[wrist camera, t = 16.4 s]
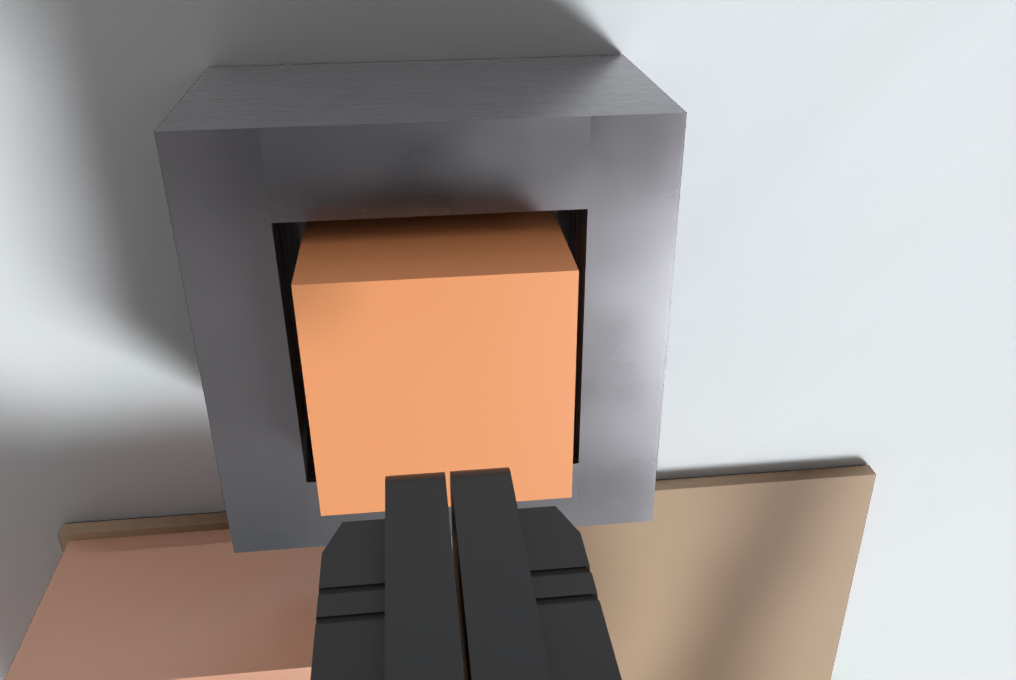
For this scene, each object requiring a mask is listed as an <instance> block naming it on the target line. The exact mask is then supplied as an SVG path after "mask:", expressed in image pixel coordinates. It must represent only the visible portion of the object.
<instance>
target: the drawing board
mask: <svg viewBox="0 0 1016 680" xmlns="http://www.w3.org/2000/svg"><path fill="white" fill-rule="evenodd" d="M875 477H876V474H875V472H874V471H873V470H872V468H871V467H870V466H869V465H865V466H851V467H837V468H824V469H810V470H796V471H783V472H769V473H755V474H741V475H728V476H714V477H700V478H687V479H673V480H659V481H656V482H655V494H654V506H653V518H652V521H644V522H631V523H618V524H605V525H592V526H579V527H576V529H577V530H578V531H579V532H580V533H581V536H582V540H583V543H584V547H585V550H586V554H587V558H588V561H589V565H590V573H591V572H592V575H593V579H594V583H595V586H596V590H597V593H598V594H597V595H598V600H600V604H601V607H602V611H603V615H604V618H605V622H606V625H607V629H608V632H609V636H610V639H611V643H612V647H613V650H614V654H615V657H616V661H617V664H618V668H619V672H620V675H621V679H622V680H831V675H832V671H833V666H834V662H835V657H836V653H837V648H838V644H839V639H840V635H841V630H842V626H843V621H844V617H845V612H846V608H847V603H848V599H849V594H850V590H851V585H852V581H853V576H854V572H855V567H856V563H857V558H858V554H859V549H860V545H861V540H862V536H863V531H864V527H865V522H866V518H867V513H868V509H869V504H870V500H871V495H872V491H873V486H874V482H875ZM223 529H230V528H229V523H228V518H227V512H221V513H207V514H193V515H180V516H166V517H152V518H139V519H125V520H111V521H98V522H84V523H70V524H63V526H62V528H61V530H60V532H59V534H58V537H59V540H60V543H61V547H62V550H63V552H64V550H65V548H66V546H67V544H68V542H69V541H75V540H89V539H102V538H115V537H129V536H142V535H156V534H169V533H182V532H196V531H209V530H223ZM451 541H452V536H451ZM452 552H453V551H452Z"/></svg>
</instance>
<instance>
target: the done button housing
mask: <svg viewBox="0 0 1016 680" xmlns="http://www.w3.org/2000/svg"><path fill="white" fill-rule="evenodd" d="M686 115H687V112H685V111H684V110H683V109H682V108H681V107H680V106H679V105H678V104H677V103H676V102H674V101H673V100H672V99H671V98H670V97H669V96H668V95H667V94H666V93H665V92H663V91H662V90H661V89H660V88H659V87H658V86H657V85H656V84H655V83H654V82H653V81H651V80H650V79H649V78H648V77H647V76H646V75H645V74H644V73H643V72H642V71H640V70H639V69H638V68H637V67H636V66H635V65H634V64H633V63H632V62H631V61H630V60H628V59H627V58H626V57H625V56H624V55H600V56H566V57H532V58H498V59H464V60H430V61H396V62H362V63H328V64H294V65H260V66H226V67H208V68H207V69H206V70H205V71H204V72H203V74H202V75H201V76H200V77H199V78H198V80H197V81H196V82H195V83H194V85H193V86H192V87H191V88H190V89H189V91H188V92H187V93H186V94H185V95H184V97H183V98H182V99H181V100H180V101H179V103H178V104H177V105H176V106H175V107H174V109H173V110H172V111H171V112H170V113H169V115H168V116H167V117H166V118H165V119H164V121H163V122H162V123H161V124H160V125H159V127H158V128H157V129H156V130H155V131H154V133H155V138H156V143H157V148H158V154H159V159H160V164H161V169H162V175H163V180H164V185H165V191H166V196H167V201H168V206H169V212H170V217H171V222H172V227H173V233H174V238H175V243H176V249H177V254H178V259H179V264H180V270H181V275H182V280H183V286H184V291H185V296H186V301H187V307H188V312H189V317H190V322H191V328H192V333H193V338H194V344H195V349H196V354H197V359H198V365H199V370H200V375H201V380H202V386H203V391H204V396H205V402H206V407H207V412H208V417H209V423H210V428H211V433H212V439H213V444H214V449H215V454H216V460H217V465H218V470H219V475H220V481H221V486H222V491H223V497H224V502H225V507H226V512H227V518H228V523H229V528H230V533H231V539H232V544H233V549H234V553H241V552H254V551H267V550H280V549H293V548H306V547H319V546H327V545H328V543H329V542H330V540H331V539H332V537H333V536H334V534H335V533H336V531H337V530H338V528H339V527H340V525H341V524H342V522H349V521H363V520H376V519H385V511H382V512H369V513H355V514H342V515H328V516H321V512H320V504H319V497H318V489H317V481H316V473H315V466H314V458H313V450H312V442H311V435H310V427H309V419H308V411H307V404H306V396H305V388H304V380H303V373H302V365H301V357H300V349H299V342H298V334H297V326H296V318H295V311H294V303H293V295H292V287H291V284H292V280H293V275H294V271H295V267H296V262H297V258H298V254H299V249H300V245H301V241H302V236H303V232H304V228H305V224H306V222H307V221H330V220H352V219H374V218H396V217H419V216H441V215H463V214H485V213H508V212H530V211H552V210H553V212H554V215H555V217H556V219H557V221H558V224H559V226H560V228H561V231H562V233H563V235H564V238H565V240H566V242H567V244H568V247H569V249H570V251H571V254H572V256H573V258H574V260H575V263H576V265H577V267H578V270H579V283H578V315H577V346H576V377H575V409H574V440H573V472H572V497H571V498H558V499H544V500H531V501H517V507H518V509H520V508H534V507H547V506H556V507H557V508H558V509H559V510H560V511H561V512H562V513H563V515H564V516H565V517H566V518H567V519H568V520H569V521H570V522H571V523H572V524H573V525H574V526H575V527H579V526H592V525H605V524H618V523H631V522H644V521H652V518H653V506H654V494H655V482H656V470H657V458H658V447H659V435H660V423H661V411H662V399H663V387H664V375H665V364H666V352H667V340H668V328H669V316H670V304H671V292H672V281H673V269H674V257H675V245H676V233H677V221H678V209H679V198H680V186H681V174H682V162H683V150H684V138H685V126H686ZM448 509H449V520H450V530H451V536H452V525H451V506H450V507H448Z"/></svg>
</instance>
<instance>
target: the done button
mask: <svg viewBox="0 0 1016 680" xmlns="http://www.w3.org/2000/svg"><path fill="white" fill-rule="evenodd" d="M578 283H579V270H578V267H577V265H576V263H575V260H574V258H573V256H572V254H571V251H570V249H569V247H568V244H567V242H566V240H565V238H564V235H563V233H562V231H561V228H560V226H559V224H558V221H557V219H556V217H555V215H554V212H553V210H552V211H530V212H508V213H485V214H463V215H441V216H419V217H396V218H374V219H352V220H330V221H307V222H306V224H305V228H304V232H303V236H302V241H301V245H300V249H299V254H298V258H297V262H296V267H295V271H294V275H293V280H292V284H291V287H292V295H293V303H294V311H295V318H296V326H297V334H298V342H299V349H300V357H301V365H302V373H303V380H304V388H305V396H306V404H307V411H308V419H309V427H310V435H311V442H312V450H313V458H314V466H315V473H316V481H317V489H318V497H319V504H320V512H321V516H328V515H342V514H355V513H369V512H382V511H385V476H393V475H407V474H421V473H436V472H445V477H446V487H447V498H448V507H450V506H451V499H450V471H461V470H475V469H490V468H504V467H509V469H510V472H511V476H512V481H513V487H514V492H515V497H516V502H517V501H531V500H544V499H558V498H571V497H572V472H573V440H574V409H575V377H576V346H577V315H578Z"/></svg>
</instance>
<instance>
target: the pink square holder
mask: <svg viewBox="0 0 1016 680" xmlns="http://www.w3.org/2000/svg"><path fill="white" fill-rule="evenodd" d="M325 548H326V546H319V547H306V548H293V549H280V550H267V551H254V552H241V553H234V549H233V544H232V539H231V533H230V529H223V530H209V531H196V532H182V533H169V534H156V535H142V536H129V537H115V538H102V539H89V540H75V541H69V542H68V544H67V546H66V548H65V550H64V552H63V555H62V557H61V559H60V561H59V563H58V565H57V567H56V570H55V572H54V574H53V576H52V578H51V580H50V582H49V585H48V587H47V589H46V591H45V593H44V595H43V597H42V600H41V602H40V604H39V606H38V608H37V610H36V613H35V615H34V617H33V619H32V621H31V623H30V625H29V628H28V630H27V632H26V634H25V636H24V638H23V640H22V643H21V645H20V647H19V649H18V651H17V653H16V655H15V658H14V660H13V662H12V664H11V666H10V668H9V670H8V673H7V675H6V677H5V679H4V680H310V678H311V667H312V656H313V645H314V634H315V625H316V612H317V601H318V595H319V578H320V567H321V556H322V552H323V551H324V549H325Z"/></svg>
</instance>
